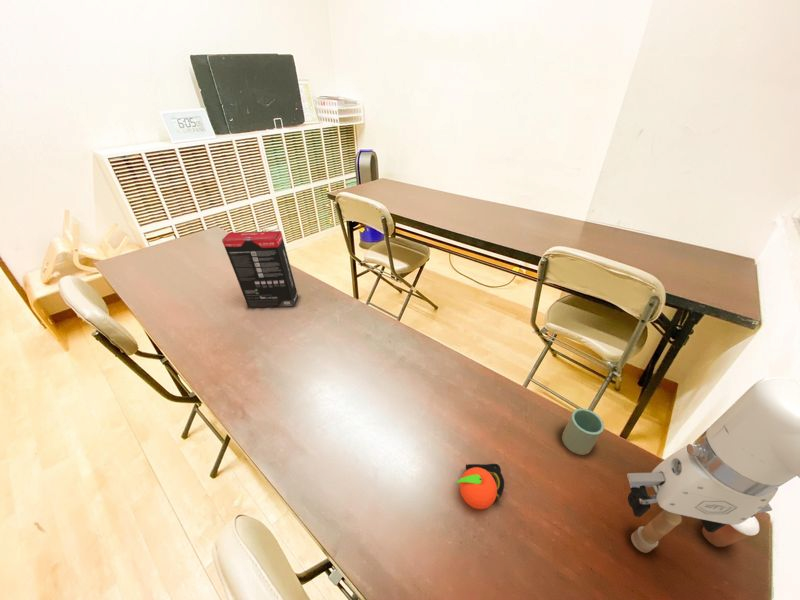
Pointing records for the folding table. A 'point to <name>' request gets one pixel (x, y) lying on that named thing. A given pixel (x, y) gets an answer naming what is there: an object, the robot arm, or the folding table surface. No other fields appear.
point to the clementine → (478, 488)
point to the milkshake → (732, 532)
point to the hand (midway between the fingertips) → (667, 513)
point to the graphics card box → (262, 268)
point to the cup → (582, 431)
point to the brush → (655, 531)
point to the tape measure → (496, 474)
